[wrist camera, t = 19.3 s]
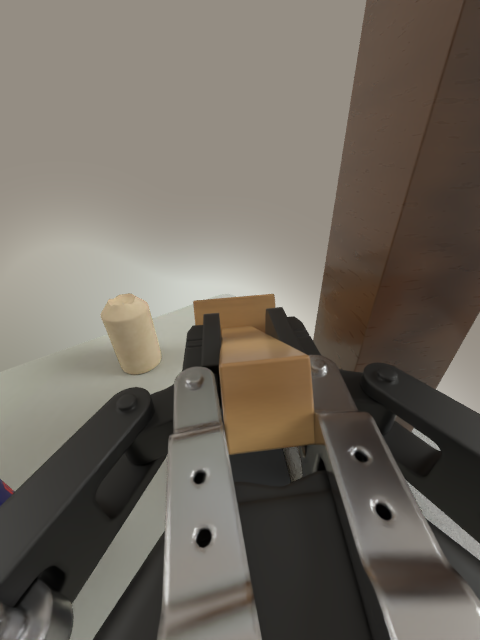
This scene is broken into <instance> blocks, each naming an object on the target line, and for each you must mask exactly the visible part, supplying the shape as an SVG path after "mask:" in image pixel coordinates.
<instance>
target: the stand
mask: <svg viewBox="0 0 480 640" xmlns="http://www.w3.org/2000/svg"><path fill="white" fill-rule="evenodd" d="M479 312H480V0H367V1H366V7H365V14H364V20H363V26H362V33H361V40H360V45H359V52H358V58H357V65H356V71H355V77H354V84H353V90H352V96H351V103H350V110H349V117H348V122H347V129H346V135H345V141H344V148H343V154H342V161H341V167H340V173H339V179H338V186H337V192H336V199H335V205H334V211H333V218H332V225H331V231H330V237H329V243H328V250H327V256H326V262H325V269H324V275H323V282H322V289H321V295H320V301H319V307H318V314H317V320H316V326H315V333H314V340H313V342H314V344H315V345H316V347H317V349H318V351H319V352H320V354H321V356H324V357H327V358H329V359H330V360H332V361H333V362H334V363H335V364H336V365H337V367H338V369H342V370H346V371H354V372H361V373H363V371H364V368H365V367H366V366H367V365H368V364H371V363H385V364H389V365H392V366H394V367H396V368H398V369H400V370H402V371H404V372H405V373H407V374H409V375H411V376H413V377H414V378H416V379H418V380H420V381H421V382H423V383H425V384H427V385H429V386H430V387H432V388H434V389H436V388H437V386H438V384H439V382H440V381H441V379H442V377H443V375H444V373H445V372H446V370H447V368H448V367H449V365H450V363H451V361H452V360H453V358H454V356H455V354H456V353H457V351H458V349H459V347H460V345H461V344H462V342H463V340H464V339H465V337H466V335H467V333H468V332H469V330H470V328H471V326H472V324H473V323H474V321H475V319H476V318H477V316H478V314H479ZM395 421H396V422H398V423H399V424H400V425H402V426H403V427H405V428H406V429H407V430H409V431H410V432H412V430H413V428H414V427H413V426H411V425H410V424H408V423H407V422H405V421H404V420H403V419H401V418H400V417H398V416H396V418H395ZM297 448H298V451H299V447H298V446H297ZM299 454H300V452H299ZM300 458H301V457H300Z"/></svg>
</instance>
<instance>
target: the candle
mask: <svg viewBox="0 0 480 640" xmlns="http://www.w3.org/2000/svg"><path fill="white" fill-rule="evenodd" d="M101 318H102V320H103V323H104V325H105V328H106V330H107V333H108V335H109V338H110V340H111V343H112V345H113V348H114V350H115V353H116V355H117V358H118V360H119V363H120V365H121V368H122V369H123V370H124V371H125V372H126V373H128V374H142V373H146V372H148V371H150V370H152V369H154V368H155V367H156V366H157V365H158V364H159V363H160V361H161V357H162V356H161V350H160V347H159V343H158V339H157V335H156V332H155V328H154V324H153V321H152V317H151V313H150V310H149V306H148V303H147V302H145V301H144V300H142V299H140V298H138V297H136V296H134V295H133V294H122V295H118V296H117V297H116V298H114V299H109V300H108V302H107V304H106V306H105V307H104V309H103V311H102V312H101Z"/></svg>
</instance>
